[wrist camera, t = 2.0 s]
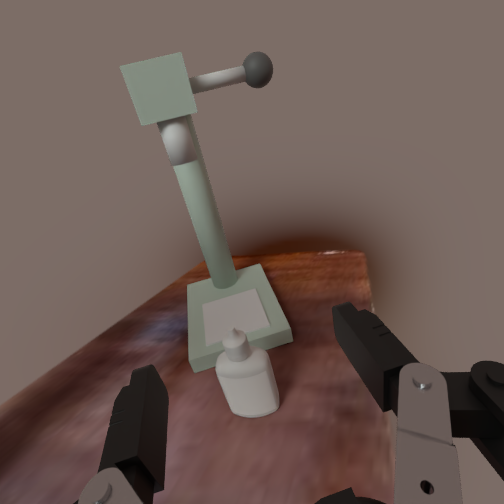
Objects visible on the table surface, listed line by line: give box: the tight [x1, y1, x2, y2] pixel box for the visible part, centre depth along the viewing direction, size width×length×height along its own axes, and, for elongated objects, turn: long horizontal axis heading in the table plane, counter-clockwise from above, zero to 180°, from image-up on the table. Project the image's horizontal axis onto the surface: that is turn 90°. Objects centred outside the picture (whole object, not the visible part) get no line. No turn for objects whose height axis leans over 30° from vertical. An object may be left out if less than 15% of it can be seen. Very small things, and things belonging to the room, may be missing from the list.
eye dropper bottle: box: [215, 326, 279, 418], centre depth 30 cm, size 4×6×12 cm
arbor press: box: [120, 52, 293, 373], centre depth 39 cm, size 18×20×35 cm
